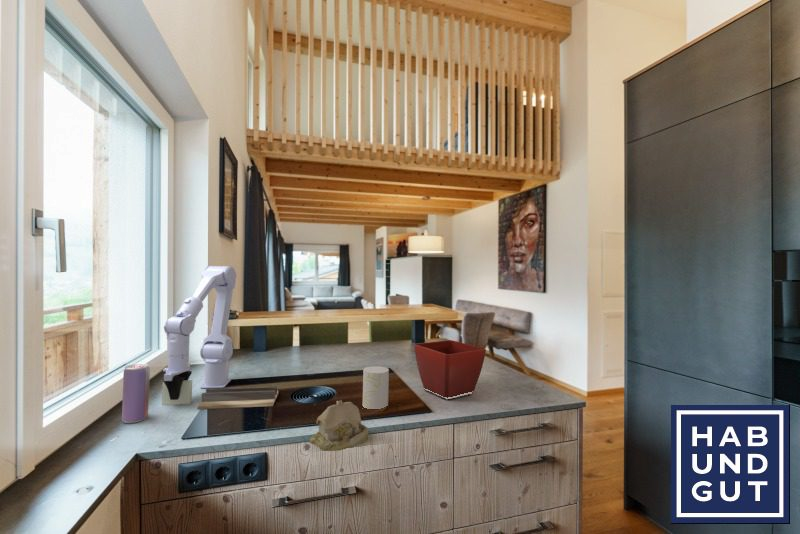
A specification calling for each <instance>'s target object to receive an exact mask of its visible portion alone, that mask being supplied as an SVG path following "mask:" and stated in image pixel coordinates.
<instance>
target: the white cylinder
mask: <svg viewBox="0 0 800 534" xmlns="http://www.w3.org/2000/svg"><path fill="white" fill-rule="evenodd" d="M362 370H363V371H362V373H363V374H362V377H363V378H362V406H363V407H364V408H367V409H381V408H384V407H386V406H388V407H389V385H390V384H389V383H390V381H389V378H390V376H389V375H390V374H389V373H390V369H389V368H388V367H385V366H380V365H379V366H376V365H375V366H374V365H373V366H372V365H371V366H366V367H364V368H363V369H362Z"/></svg>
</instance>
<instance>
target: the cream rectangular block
mask: <svg viewBox="0 0 800 534" xmlns="http://www.w3.org/2000/svg"><path fill="white" fill-rule="evenodd" d="M161 383H162V384H161V385H162V386H161V405H162V406H170V405H173V406H175V405H190V404H191V403H192V402H193V399H192V398H193V379H188V380H183V383H182V385H181V389H180V395H179V399H178V400H170V396H169V392H168V389H167V387H166V385H165V383H164V382H161Z"/></svg>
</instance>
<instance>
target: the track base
mask: <svg viewBox="0 0 800 534" xmlns="http://www.w3.org/2000/svg"><path fill="white" fill-rule="evenodd" d="M200 395H201V396H200V397H201V399H200V403H199V404H197V406H196V408H197V410H208V409H209V410H211V409H212V410H213V409H214V410H215V409H232V408H233V409H235V408H237V409H238V408H254V407H255V408H258V407H273V406H274V404H275V402H276V400H277V397H278V396H279V390H278V386H248V387H245V386H244V387H223V388H205V392H202V393H201V394H200Z"/></svg>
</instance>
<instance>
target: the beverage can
mask: <svg viewBox="0 0 800 534" xmlns="http://www.w3.org/2000/svg"><path fill="white" fill-rule="evenodd" d="M150 371H151V368H150V364H148V363H134V364H130V365H127V366H124V369H123V378H122V379H123V380H122V384H123V385H122V404H121V406H122V408H121V409H122V411H121V421H122V422H123V423H124V424H135V423H140V422H143V421H145V420H146V419H147V418H148V416H149V406H150V405H149V400H150V377H151V373H150Z"/></svg>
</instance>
